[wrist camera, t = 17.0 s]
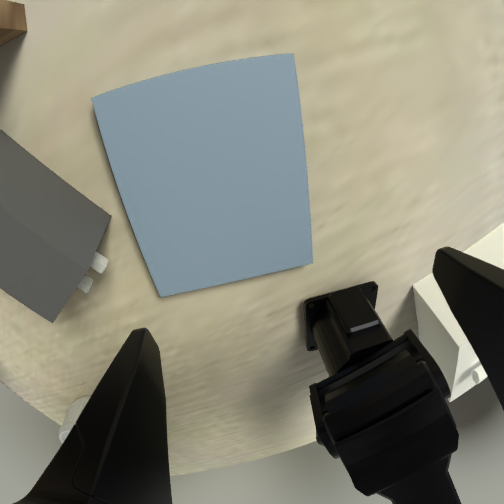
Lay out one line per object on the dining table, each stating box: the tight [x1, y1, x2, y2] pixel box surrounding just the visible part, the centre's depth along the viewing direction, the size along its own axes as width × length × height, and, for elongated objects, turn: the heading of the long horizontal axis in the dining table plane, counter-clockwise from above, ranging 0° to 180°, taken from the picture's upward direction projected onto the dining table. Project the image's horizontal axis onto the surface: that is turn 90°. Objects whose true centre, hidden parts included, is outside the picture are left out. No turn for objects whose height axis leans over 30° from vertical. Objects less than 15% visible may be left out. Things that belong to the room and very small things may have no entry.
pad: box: [91, 53, 313, 297], centre depth 18 cm, size 14×11×1 cm
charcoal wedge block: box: [0, 130, 111, 323], centre depth 15 cm, size 11×5×6 cm, turn 44°
